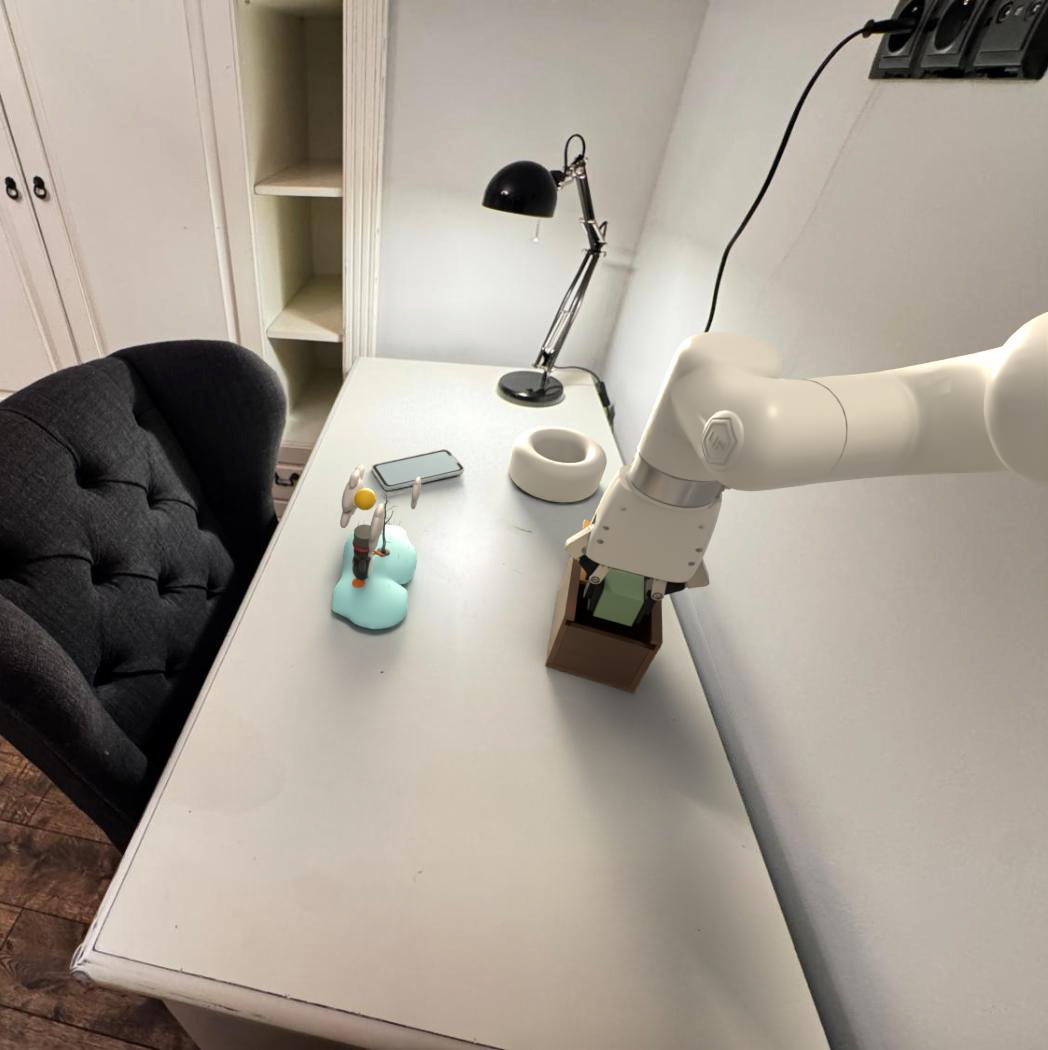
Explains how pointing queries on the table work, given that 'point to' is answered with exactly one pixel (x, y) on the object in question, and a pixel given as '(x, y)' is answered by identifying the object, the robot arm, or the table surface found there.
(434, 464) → the smartphone
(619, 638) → the box
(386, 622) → the penguin figurine
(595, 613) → the block
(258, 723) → the table surface
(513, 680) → the table surface
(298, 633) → the table surface
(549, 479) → the fat ring
